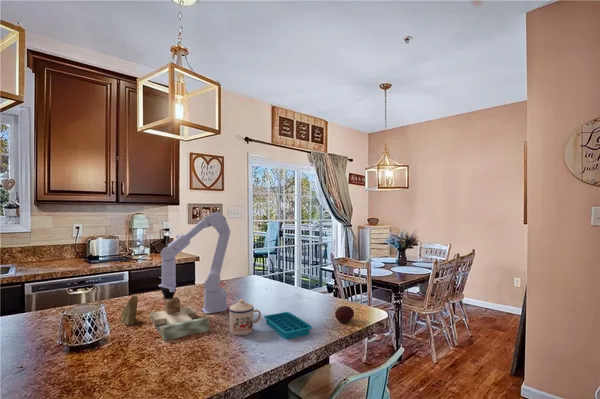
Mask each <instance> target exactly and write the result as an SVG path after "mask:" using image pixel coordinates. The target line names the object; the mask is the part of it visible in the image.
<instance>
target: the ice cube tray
mask: <svg viewBox="0 0 600 399" xmlns="http://www.w3.org/2000/svg"><path fill="white" fill-rule="evenodd" d="M263 319H264V320H265V322H266V323H265V324H266V325H267V327H269V328H271V329H272V330H273V331H274V332H276V334H278V335H279V336H281V338H283V339H285V340H291V339H295V338H299V337H303V336H308V335H310V330H311V329H313V326H312V324H309V323H308V322H306V321H304V320H303V319H301V318H299V317H298V316H296V315H295V314H293V313H291V312H290V311H283V312H279V313H273V314H267V315H264V316H263Z"/></svg>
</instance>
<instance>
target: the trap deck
mask: <svg viewBox="0 0 600 399" xmlns="http://www.w3.org/2000/svg"><path fill="white" fill-rule="evenodd" d="M149 315H150V316H149V317H150V318H149V319H150V321H151V323H152V324H153V325H154V327H155V328H156V331H157V332H158V333H159V335H160V336H161V338H162V339H163V341H168V340H173V339H177V338H182V337H187V336H189V335H190V336H191V335H195V334H200V333H205V332H208V331H210V317H209V316H206V317H200V318H197V311H195V310H194V309H193V307H191V306H190V305H189V306H182V307H180V312H176V313H171V314H167V313H166V312H165V310H160V311H154V312H150V314H149Z"/></svg>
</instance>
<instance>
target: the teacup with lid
mask: <svg viewBox="0 0 600 399" xmlns="http://www.w3.org/2000/svg"><path fill="white" fill-rule="evenodd" d="M228 310H229V333H230V334H232V336H246V335H250V334H251V333H252V332H253V331H254V324H257V323H258V322H259V321H260V320H261V317H262V313H261V311H260V310H259V309H255V307H254V305H253V304H251V303H248V302H247V301H245V299H243V298H242V299H239V300H238V302H236V303H234V304H231V305H230V307H229V308H228ZM255 312H257V313H258V316H257V318H256V320H254V313H255Z"/></svg>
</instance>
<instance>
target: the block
mask: <svg viewBox="0 0 600 399" xmlns="http://www.w3.org/2000/svg"><path fill="white" fill-rule="evenodd" d="M180 308H181V299H180V298H179V297H178V296H175V297H174V296H173V298H168V299H165V300H164V311H165V312H166V313H167V314H171V313H176V312H180Z"/></svg>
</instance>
